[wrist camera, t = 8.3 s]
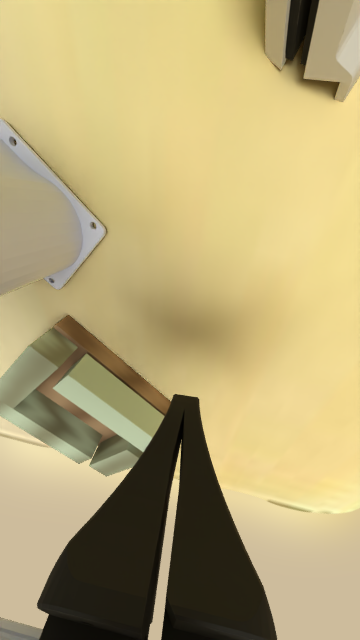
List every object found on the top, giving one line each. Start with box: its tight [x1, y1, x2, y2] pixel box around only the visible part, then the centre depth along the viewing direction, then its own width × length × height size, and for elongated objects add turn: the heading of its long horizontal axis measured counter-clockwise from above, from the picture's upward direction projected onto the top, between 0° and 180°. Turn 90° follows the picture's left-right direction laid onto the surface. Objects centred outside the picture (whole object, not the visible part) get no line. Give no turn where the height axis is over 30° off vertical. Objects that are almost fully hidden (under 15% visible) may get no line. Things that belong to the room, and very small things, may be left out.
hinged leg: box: [53, 354, 165, 452], centre depth 21 cm, size 14×3×4 cm, turn 42°
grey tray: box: [0, 315, 171, 476], centre depth 24 cm, size 18×14×5 cm
